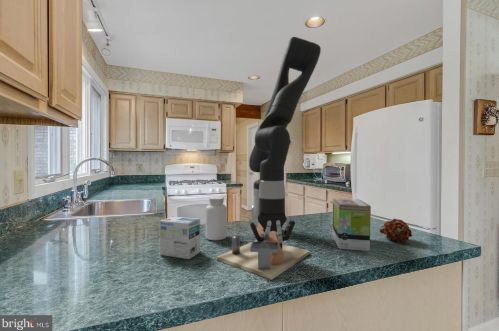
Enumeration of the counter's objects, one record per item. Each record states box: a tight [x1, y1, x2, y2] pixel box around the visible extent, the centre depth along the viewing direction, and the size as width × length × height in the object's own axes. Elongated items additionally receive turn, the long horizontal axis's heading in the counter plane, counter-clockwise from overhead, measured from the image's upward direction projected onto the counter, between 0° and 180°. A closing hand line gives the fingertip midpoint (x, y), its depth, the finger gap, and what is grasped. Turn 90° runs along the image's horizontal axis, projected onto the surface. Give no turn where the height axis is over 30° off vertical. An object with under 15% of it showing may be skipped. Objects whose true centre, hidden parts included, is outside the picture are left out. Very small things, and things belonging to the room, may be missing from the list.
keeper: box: [250, 240, 278, 270], centre depth 65 cm, size 5×7×5 cm
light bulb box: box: [159, 216, 202, 260], centre depth 76 cm, size 11×7×11 cm, turn 71°
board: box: [216, 239, 311, 281], centre depth 73 cm, size 19×21×1 cm
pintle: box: [231, 234, 241, 255], centre depth 73 cm, size 2×2×5 cm
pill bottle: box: [205, 196, 228, 241], centre depth 91 cm, size 8×8×15 cm
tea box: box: [332, 198, 372, 252], centre depth 85 cm, size 15×10×15 cm, turn 168°
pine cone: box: [379, 218, 413, 244], centre depth 88 cm, size 8×8×12 cm
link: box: [256, 223, 284, 264], centre depth 72 cm, size 15×6×3 cm, turn 10°
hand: (272, 254), depth 71 cm, fingers closed on link, 3 cm apart
